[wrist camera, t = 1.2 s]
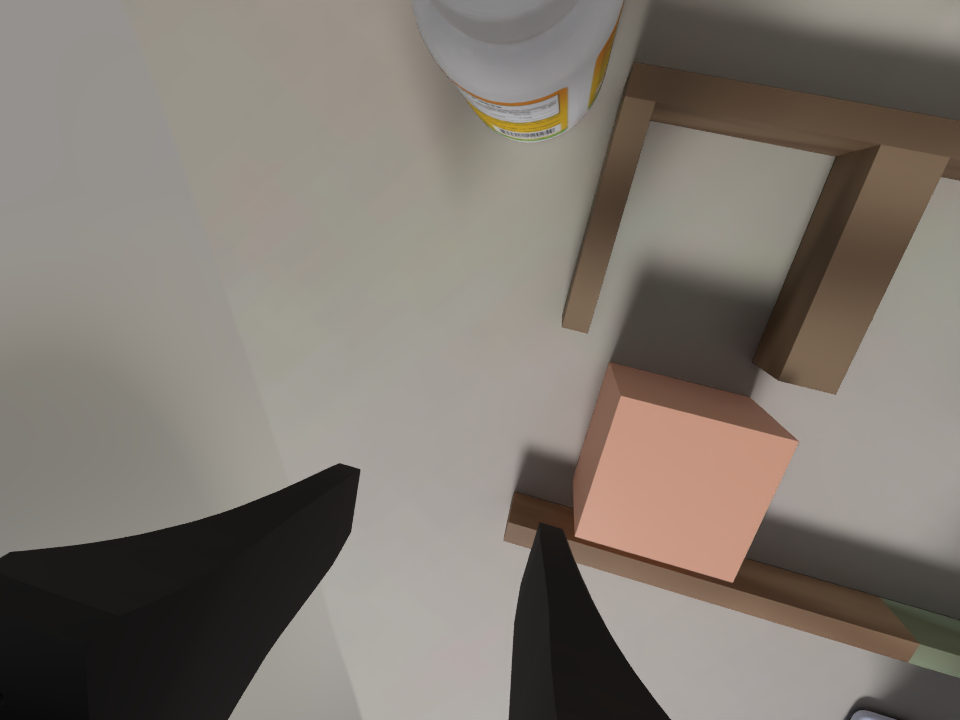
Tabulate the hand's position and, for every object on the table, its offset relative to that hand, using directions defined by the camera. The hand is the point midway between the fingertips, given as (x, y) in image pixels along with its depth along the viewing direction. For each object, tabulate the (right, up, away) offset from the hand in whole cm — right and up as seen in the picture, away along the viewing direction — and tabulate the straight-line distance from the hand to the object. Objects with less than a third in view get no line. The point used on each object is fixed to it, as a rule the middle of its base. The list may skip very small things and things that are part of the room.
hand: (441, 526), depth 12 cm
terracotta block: (+9, +1, +9) cm, 13 cm away
